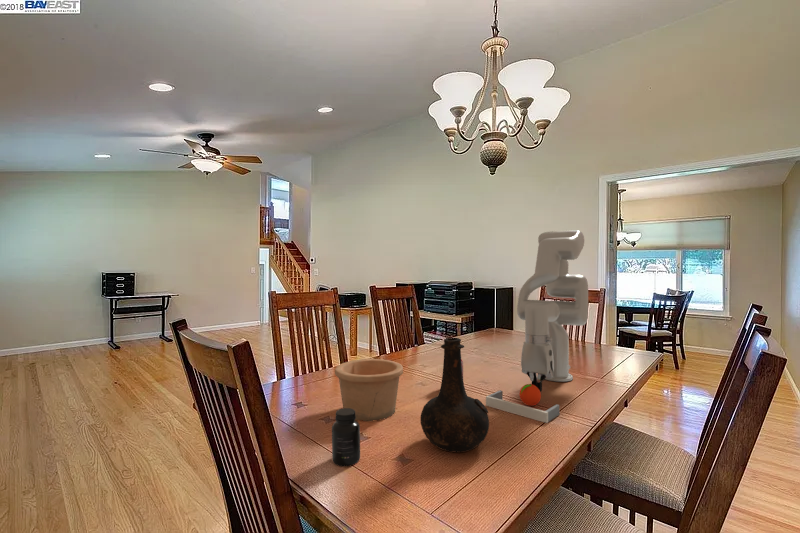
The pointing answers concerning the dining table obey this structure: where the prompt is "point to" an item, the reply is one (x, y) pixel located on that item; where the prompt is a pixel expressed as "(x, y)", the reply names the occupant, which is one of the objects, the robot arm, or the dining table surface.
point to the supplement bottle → (345, 438)
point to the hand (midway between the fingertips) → (536, 392)
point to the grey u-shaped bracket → (521, 408)
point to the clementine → (530, 394)
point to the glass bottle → (454, 408)
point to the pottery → (369, 387)
